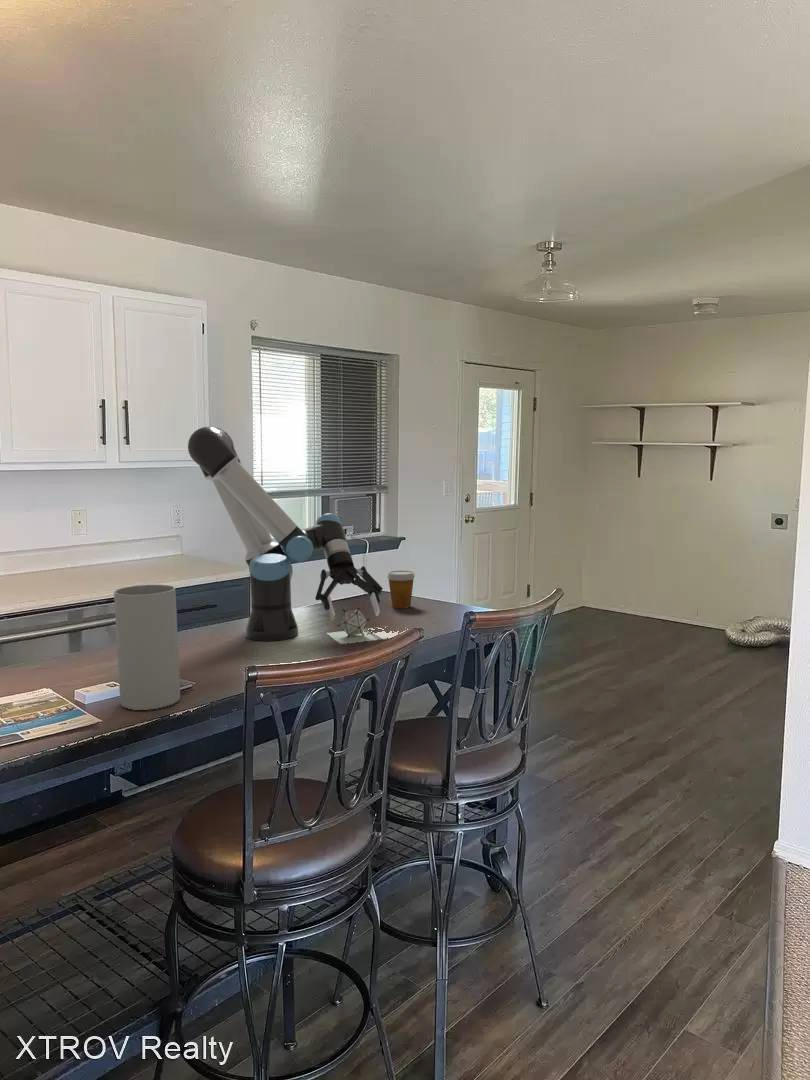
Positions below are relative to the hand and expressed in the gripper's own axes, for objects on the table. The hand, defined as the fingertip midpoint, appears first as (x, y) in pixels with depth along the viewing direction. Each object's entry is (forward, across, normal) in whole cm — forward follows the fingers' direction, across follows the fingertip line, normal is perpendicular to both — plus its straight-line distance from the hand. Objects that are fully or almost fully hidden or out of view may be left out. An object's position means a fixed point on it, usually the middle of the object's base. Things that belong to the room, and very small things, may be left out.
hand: (355, 615), depth 225 cm
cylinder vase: (+30, +60, +21) cm, 70 cm away
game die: (+3, 0, -6) cm, 7 cm away
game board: (+3, -6, -6) cm, 9 cm away
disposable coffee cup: (-20, -28, -30) cm, 46 cm away
